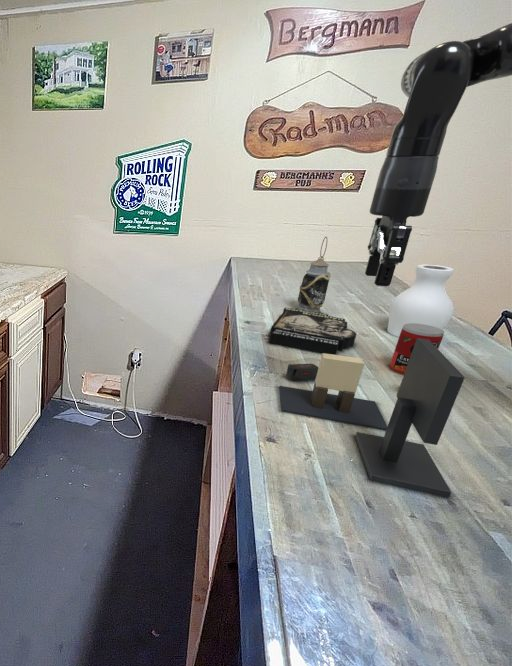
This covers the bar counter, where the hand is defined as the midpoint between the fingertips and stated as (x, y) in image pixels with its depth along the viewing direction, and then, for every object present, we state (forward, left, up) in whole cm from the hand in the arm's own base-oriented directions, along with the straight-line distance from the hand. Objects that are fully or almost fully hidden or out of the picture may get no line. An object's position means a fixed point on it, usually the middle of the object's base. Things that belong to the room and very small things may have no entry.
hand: (376, 280), depth 84 cm
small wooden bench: (+2, 0, -26) cm, 27 cm away
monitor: (-6, +18, -27) cm, 33 cm away
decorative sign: (+1, -48, -27) cm, 55 cm away
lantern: (0, -75, -27) cm, 80 cm away
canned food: (-18, -29, -27) cm, 44 cm away
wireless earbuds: (+6, -14, -27) cm, 31 cm away
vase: (-26, -61, -27) cm, 72 cm away
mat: (+2, 0, -27) cm, 27 cm away
